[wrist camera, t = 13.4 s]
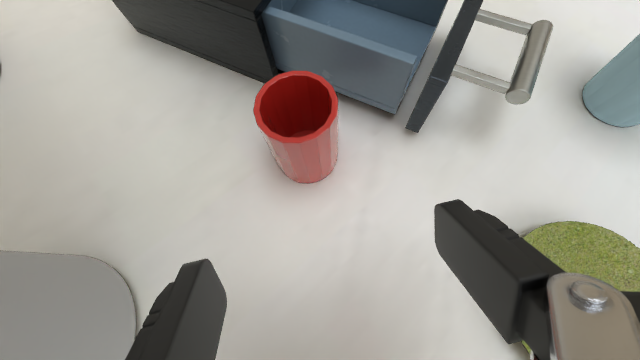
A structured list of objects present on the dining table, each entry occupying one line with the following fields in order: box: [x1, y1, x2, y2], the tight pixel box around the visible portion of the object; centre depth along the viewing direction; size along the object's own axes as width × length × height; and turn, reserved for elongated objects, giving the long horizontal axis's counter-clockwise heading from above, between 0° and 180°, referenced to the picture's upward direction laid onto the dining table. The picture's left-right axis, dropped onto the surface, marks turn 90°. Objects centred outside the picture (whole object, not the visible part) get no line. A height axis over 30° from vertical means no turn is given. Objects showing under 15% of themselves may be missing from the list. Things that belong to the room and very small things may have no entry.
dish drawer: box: [261, 0, 553, 133], centre depth 24 cm, size 23×12×7 cm, turn 63°
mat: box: [521, 221, 640, 354], centre depth 19 cm, size 11×11×2 cm
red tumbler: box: [253, 71, 338, 183], centre depth 21 cm, size 5×5×8 cm
